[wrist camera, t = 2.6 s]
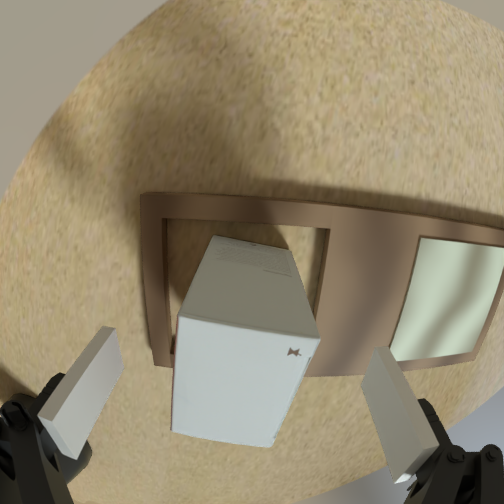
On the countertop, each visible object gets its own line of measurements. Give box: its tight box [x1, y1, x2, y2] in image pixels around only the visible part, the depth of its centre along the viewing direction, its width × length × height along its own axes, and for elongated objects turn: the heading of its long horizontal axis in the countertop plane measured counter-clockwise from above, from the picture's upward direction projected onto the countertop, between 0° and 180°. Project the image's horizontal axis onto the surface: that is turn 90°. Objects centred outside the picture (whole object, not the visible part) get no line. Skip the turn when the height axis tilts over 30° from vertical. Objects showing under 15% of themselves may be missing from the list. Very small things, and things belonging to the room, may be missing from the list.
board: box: [140, 192, 504, 377], centre depth 21 cm, size 32×14×1 cm, turn 86°
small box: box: [171, 235, 321, 447], centre depth 17 cm, size 8×6×10 cm
